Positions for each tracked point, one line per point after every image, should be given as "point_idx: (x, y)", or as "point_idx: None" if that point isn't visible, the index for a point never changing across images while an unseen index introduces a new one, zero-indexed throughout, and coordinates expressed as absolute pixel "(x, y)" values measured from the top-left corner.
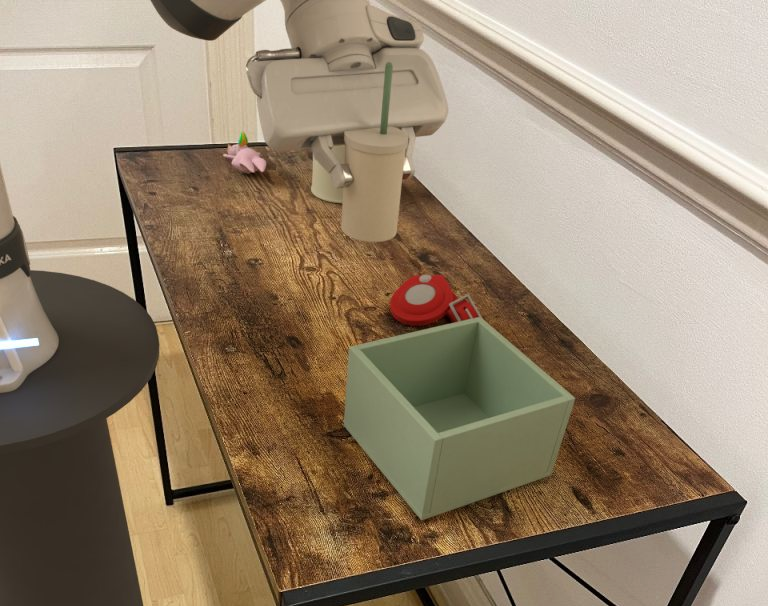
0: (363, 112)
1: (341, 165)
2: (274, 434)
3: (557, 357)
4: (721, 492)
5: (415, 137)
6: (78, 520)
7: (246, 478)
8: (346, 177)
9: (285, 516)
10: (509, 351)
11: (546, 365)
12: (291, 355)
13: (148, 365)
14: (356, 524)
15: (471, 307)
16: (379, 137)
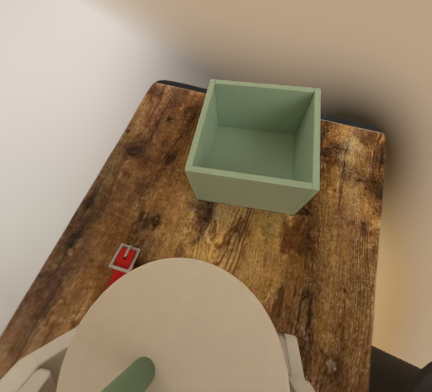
0: None
1: (289, 370)
2: (343, 233)
3: (109, 194)
4: (156, 83)
5: (18, 361)
6: (388, 362)
7: (378, 207)
8: (280, 336)
9: (366, 170)
10: (202, 130)
11: (124, 191)
12: (283, 317)
13: None
14: (331, 148)
15: (120, 254)
16: (183, 342)
